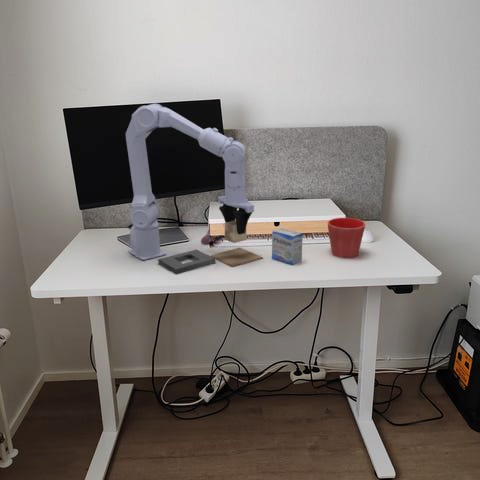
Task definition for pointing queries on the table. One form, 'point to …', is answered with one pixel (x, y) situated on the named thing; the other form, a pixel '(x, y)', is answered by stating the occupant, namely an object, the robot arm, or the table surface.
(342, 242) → the flower pot
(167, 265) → the holder
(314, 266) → the table surface
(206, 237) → the video game controller
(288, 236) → the medicine box
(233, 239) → the square plug
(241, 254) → the mat
